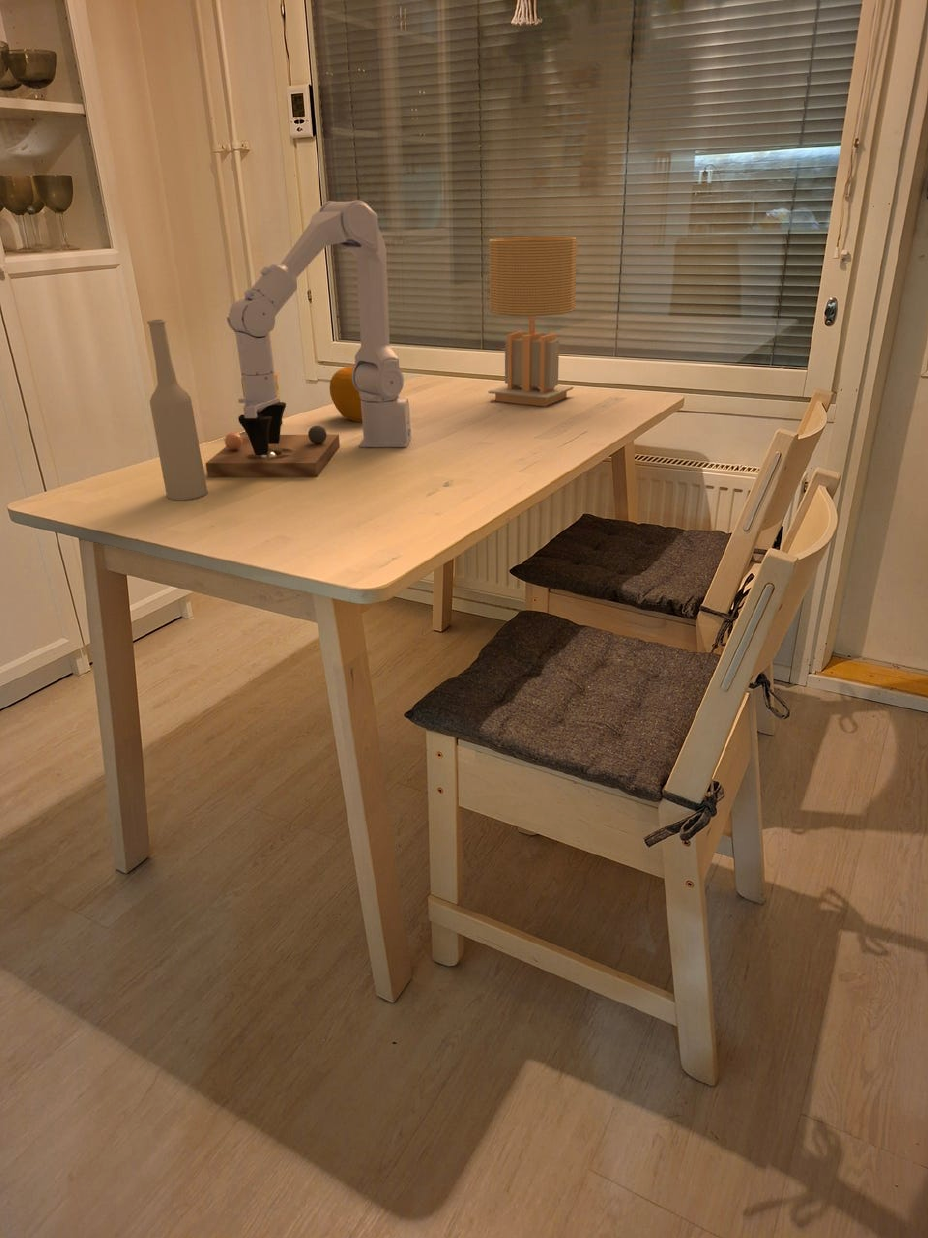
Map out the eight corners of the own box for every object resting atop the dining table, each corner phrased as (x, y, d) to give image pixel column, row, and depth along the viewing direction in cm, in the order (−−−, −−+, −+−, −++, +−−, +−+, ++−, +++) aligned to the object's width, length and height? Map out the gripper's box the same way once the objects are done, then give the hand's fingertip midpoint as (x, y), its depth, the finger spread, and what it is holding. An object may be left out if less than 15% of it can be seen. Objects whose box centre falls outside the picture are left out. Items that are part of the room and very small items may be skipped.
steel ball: (278, 471, 155) (280, 457, 156) (274, 461, 152) (276, 447, 154) (261, 471, 155) (264, 457, 157) (256, 461, 152) (259, 446, 154)
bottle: (185, 503, 138) (153, 324, 125) (158, 497, 141) (124, 321, 129) (215, 491, 143) (187, 318, 130) (189, 486, 146) (159, 316, 134)
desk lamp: (585, 394, 205) (591, 236, 190) (548, 411, 191) (552, 241, 175) (515, 387, 215) (516, 236, 199) (475, 402, 200) (472, 240, 184)
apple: (321, 423, 186) (316, 370, 180) (350, 410, 196) (346, 359, 191) (373, 427, 181) (369, 372, 176) (399, 413, 192) (396, 362, 187)
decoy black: (328, 441, 162) (327, 423, 160) (325, 445, 159) (323, 428, 157) (311, 441, 162) (309, 423, 160) (307, 446, 159) (305, 428, 157)
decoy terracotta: (245, 447, 159) (243, 430, 158) (240, 451, 156) (238, 434, 155) (229, 447, 159) (226, 430, 158) (223, 451, 156) (221, 434, 155)
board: (339, 446, 167) (338, 434, 166) (317, 476, 150) (315, 462, 148) (241, 447, 169) (240, 434, 168) (207, 476, 151) (205, 463, 150)
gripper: (248, 365, 154) (257, 438, 160) (221, 380, 141) (233, 459, 147) (285, 364, 154) (294, 438, 160) (263, 380, 141) (273, 459, 147)
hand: (267, 448), depth 153 cm, fingers open, 7 cm apart
